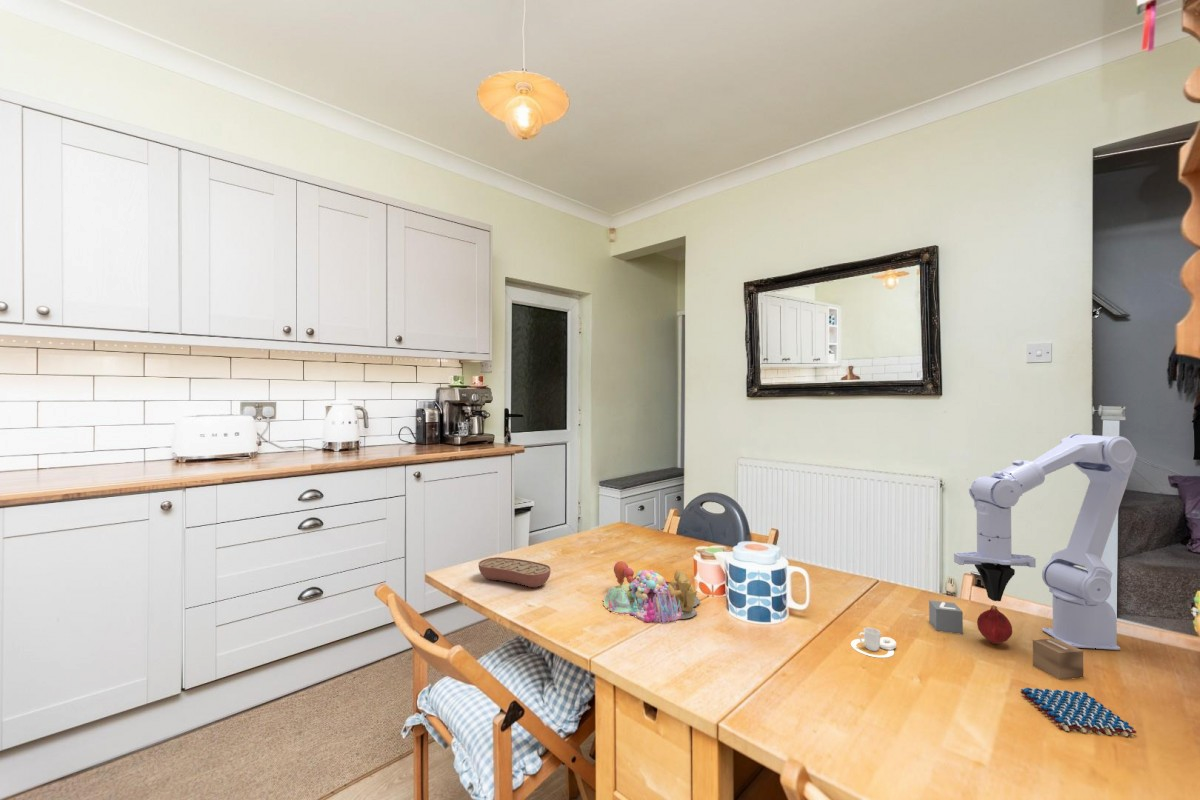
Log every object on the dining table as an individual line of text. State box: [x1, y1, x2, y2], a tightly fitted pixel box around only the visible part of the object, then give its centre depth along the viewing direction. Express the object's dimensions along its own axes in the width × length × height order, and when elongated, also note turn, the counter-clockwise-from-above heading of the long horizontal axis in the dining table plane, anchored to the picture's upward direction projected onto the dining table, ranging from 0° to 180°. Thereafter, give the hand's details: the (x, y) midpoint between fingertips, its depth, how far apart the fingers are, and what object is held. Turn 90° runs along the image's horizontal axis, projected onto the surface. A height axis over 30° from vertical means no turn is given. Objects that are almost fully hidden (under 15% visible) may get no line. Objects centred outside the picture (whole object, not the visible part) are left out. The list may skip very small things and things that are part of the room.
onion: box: [976, 604, 1013, 645], centre depth 105 cm, size 6×6×8 cm
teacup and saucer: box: [850, 627, 897, 659], centre depth 104 cm, size 9×8×4 cm
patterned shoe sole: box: [478, 556, 551, 588], centre depth 144 cm, size 23×10×5 cm, turn 64°
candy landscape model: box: [602, 561, 701, 624], centre depth 128 cm, size 25×24×9 cm
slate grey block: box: [928, 600, 964, 635], centre depth 113 cm, size 5×5×5 cm
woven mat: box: [1020, 686, 1137, 738], centre depth 82 cm, size 10×11×2 cm
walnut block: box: [1032, 637, 1084, 681], centre depth 95 cm, size 5×5×5 cm
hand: (994, 599), depth 105 cm, fingers closed
